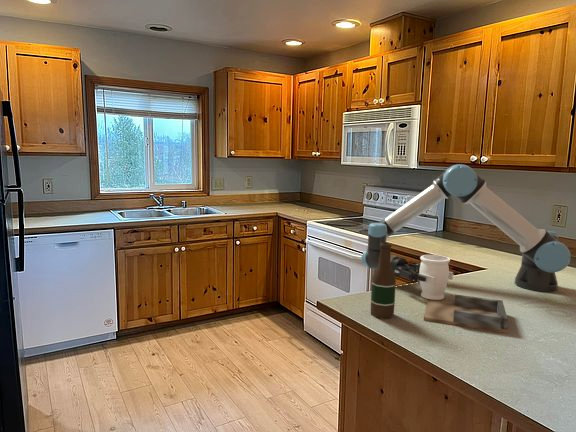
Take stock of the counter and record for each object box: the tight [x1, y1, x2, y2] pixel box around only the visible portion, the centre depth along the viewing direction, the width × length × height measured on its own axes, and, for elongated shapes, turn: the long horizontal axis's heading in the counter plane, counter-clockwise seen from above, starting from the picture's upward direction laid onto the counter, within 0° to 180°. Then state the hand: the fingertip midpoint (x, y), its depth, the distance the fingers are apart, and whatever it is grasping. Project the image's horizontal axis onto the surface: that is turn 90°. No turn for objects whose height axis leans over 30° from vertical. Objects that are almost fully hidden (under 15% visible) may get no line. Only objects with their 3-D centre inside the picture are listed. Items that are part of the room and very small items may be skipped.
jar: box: [419, 254, 451, 301], centre depth 156 cm, size 11×10×15 cm
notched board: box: [423, 294, 509, 334], centre depth 138 cm, size 24×17×4 cm
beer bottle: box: [370, 242, 397, 320], centre depth 137 cm, size 8×8×24 cm
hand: (443, 278), depth 153 cm, fingers closed on jar, 10 cm apart
